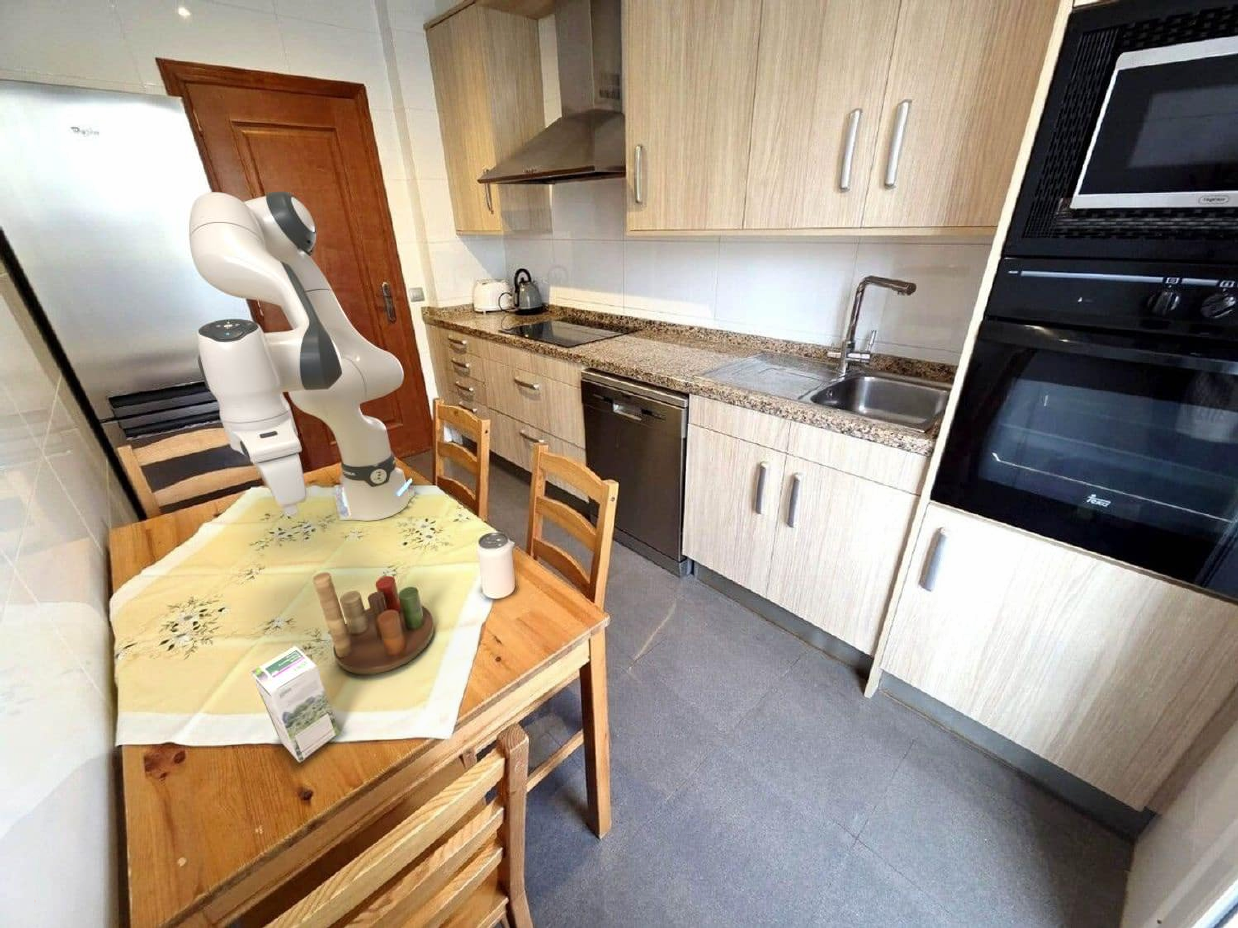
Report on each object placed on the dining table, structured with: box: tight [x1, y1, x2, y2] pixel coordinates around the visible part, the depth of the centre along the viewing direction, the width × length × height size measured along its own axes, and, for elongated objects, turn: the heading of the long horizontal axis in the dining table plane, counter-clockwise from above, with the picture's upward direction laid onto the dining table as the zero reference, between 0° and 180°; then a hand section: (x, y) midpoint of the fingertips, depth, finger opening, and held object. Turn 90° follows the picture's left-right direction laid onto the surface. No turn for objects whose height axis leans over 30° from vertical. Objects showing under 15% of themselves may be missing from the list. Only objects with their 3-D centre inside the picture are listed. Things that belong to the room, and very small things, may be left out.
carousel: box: [312, 571, 435, 675], centre depth 85 cm, size 16×16×17 cm
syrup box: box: [250, 645, 340, 763], centre depth 69 cm, size 6×6×14 cm
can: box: [476, 531, 516, 600], centre depth 99 cm, size 6×6×12 cm
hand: (287, 507), depth 83 cm, fingers open, 4 cm apart
